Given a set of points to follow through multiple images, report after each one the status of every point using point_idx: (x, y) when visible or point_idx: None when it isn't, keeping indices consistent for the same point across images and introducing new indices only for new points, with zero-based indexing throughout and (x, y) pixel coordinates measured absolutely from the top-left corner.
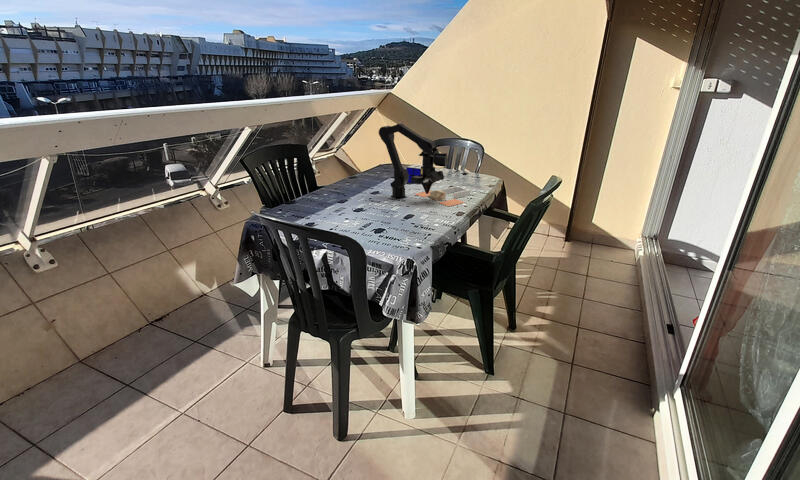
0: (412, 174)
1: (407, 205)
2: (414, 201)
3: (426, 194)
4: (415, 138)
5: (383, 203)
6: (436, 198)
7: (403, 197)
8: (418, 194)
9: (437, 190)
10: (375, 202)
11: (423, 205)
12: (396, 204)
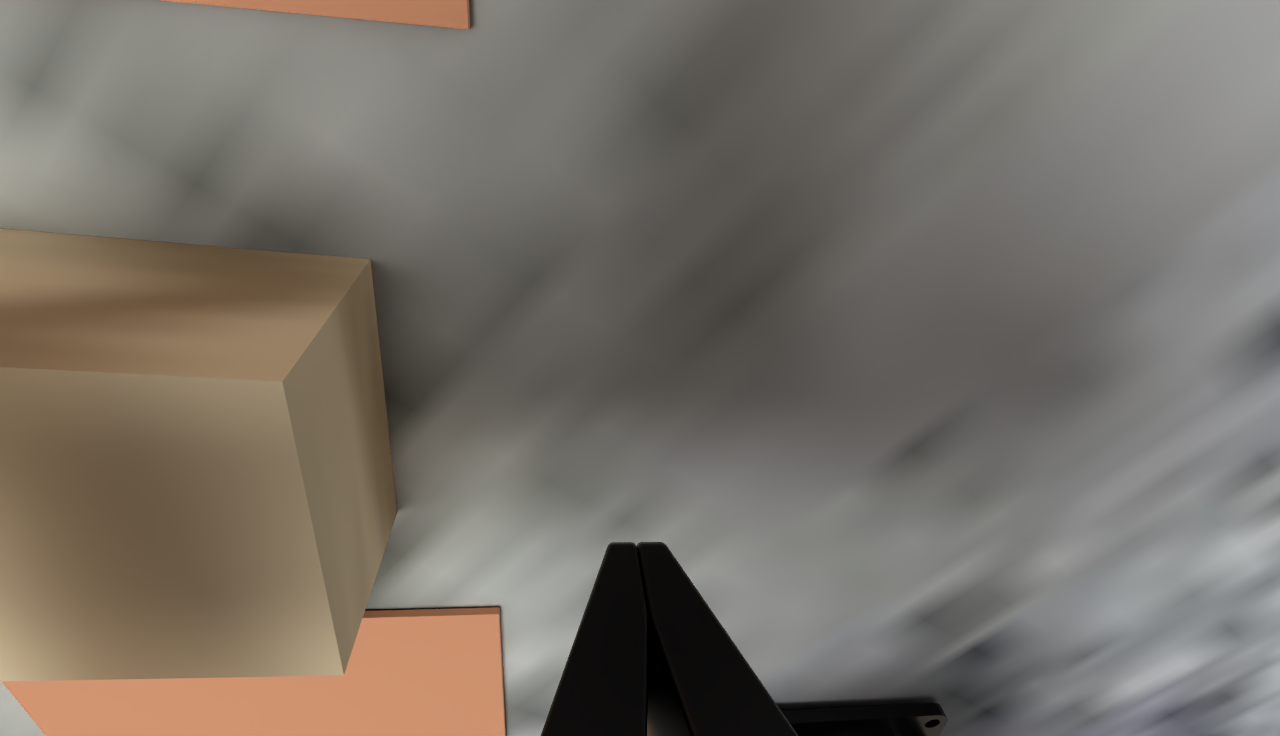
0: None
1: (1204, 393)
2: (858, 508)
3: (322, 688)
4: None
5: (1243, 647)
6: (348, 305)
7: (820, 712)
8: (472, 732)
9: (14, 665)
10: (1235, 708)
11: (1023, 156)
12: (1220, 535)
